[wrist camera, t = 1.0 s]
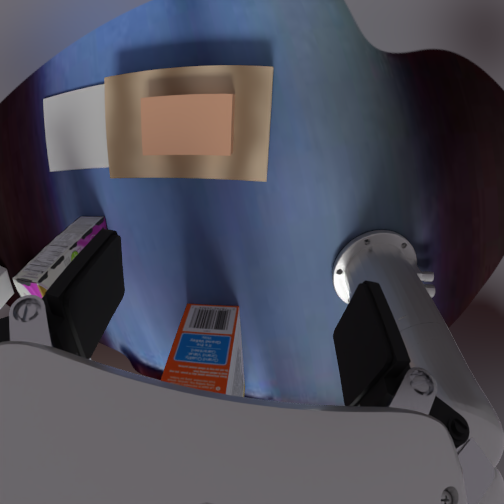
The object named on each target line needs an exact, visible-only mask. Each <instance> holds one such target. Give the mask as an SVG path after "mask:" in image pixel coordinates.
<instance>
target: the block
mask: <svg viewBox="0 0 504 504" xmlns="http://www.w3.org/2000/svg"><path fill="white" fill-rule="evenodd" d="M234 114H235V94H188V95H170V96H157V97H146V98H141V131H142V151H143V156H145V155H220V156H231V154H232V153H233V144H234Z"/></svg>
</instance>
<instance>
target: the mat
mask: <svg viewBox="0 0 504 504" xmlns="http://www.w3.org/2000/svg"><path fill="white" fill-rule="evenodd" d="M43 105H44V122H45V134H46V144H47V153H48V160H49V167H50V172H52V171H63V170H74V169H88V168H105V167H109V162H108V151H107V138H106V122H105V86H104V84H101V85H96V86H92V87H87V88H83V89H79V90H74V91H70V92H67V93H63V94H59V95H56V96H52V97H49V98H45V99H43Z"/></svg>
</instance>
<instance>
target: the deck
mask: <svg viewBox="0 0 504 504" xmlns="http://www.w3.org/2000/svg"><path fill="white" fill-rule="evenodd" d="M272 84H273V67H269V66H246V65H214V66H190V67H176V68H165V69H156V70H148V71H140V72H134V73H127V74H121V75H116V76H110V77H105V80H104V86H105V122H106V138H107V151H108V162H109V171H110V178H205V179H229V180H248V181H263V182H266V179H267V166H268V150H269V134H270V118H271V101H272ZM188 94H235V114H234V144H233V153H232V154H231V156H220V155H145V156H143V151H142V131H141V98H146V97H157V96H170V95H188Z"/></svg>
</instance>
